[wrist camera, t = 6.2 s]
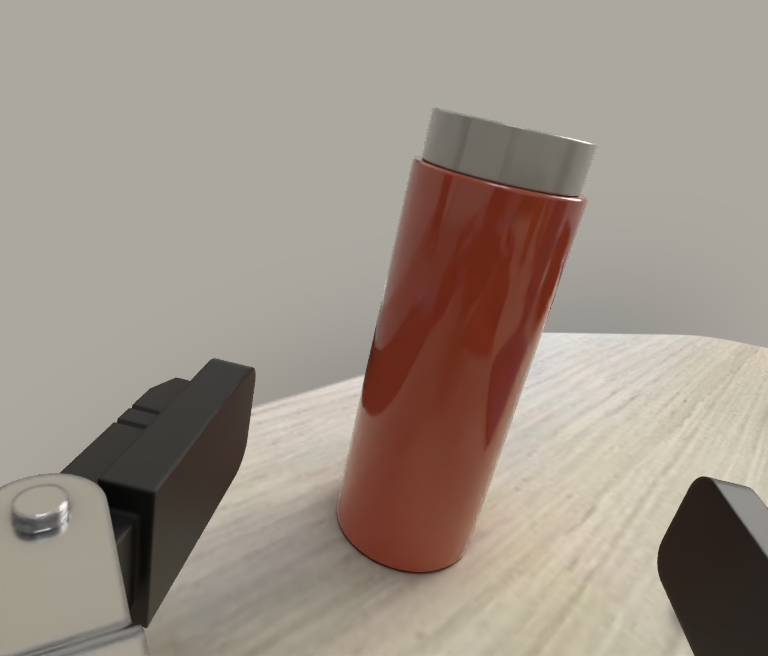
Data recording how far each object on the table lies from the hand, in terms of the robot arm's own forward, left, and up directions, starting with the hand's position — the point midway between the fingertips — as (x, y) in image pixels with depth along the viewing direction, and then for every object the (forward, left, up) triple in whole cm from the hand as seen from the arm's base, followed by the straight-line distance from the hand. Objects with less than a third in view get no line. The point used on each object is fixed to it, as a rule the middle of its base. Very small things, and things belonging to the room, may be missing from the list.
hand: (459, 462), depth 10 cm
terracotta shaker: (+3, +5, -7) cm, 9 cm away
